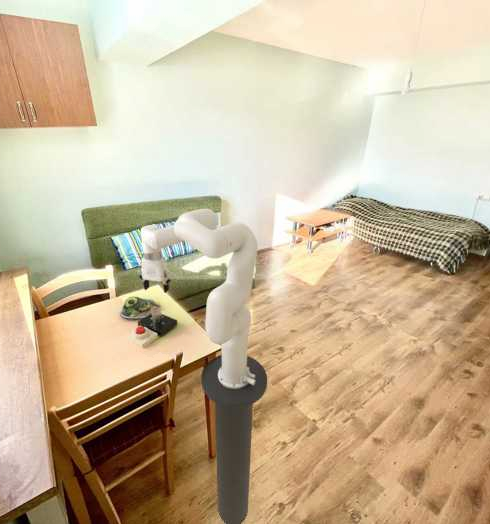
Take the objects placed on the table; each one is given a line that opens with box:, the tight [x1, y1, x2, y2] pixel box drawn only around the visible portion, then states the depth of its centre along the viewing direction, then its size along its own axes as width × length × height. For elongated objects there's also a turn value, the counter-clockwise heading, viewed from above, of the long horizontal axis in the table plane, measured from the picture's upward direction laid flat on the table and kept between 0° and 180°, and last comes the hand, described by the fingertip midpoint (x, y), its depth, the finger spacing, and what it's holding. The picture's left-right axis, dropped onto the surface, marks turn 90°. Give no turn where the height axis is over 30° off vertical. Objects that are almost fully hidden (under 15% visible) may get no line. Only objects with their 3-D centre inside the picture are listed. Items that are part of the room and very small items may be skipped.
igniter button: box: [135, 326, 145, 334], centre depth 121 cm, size 4×4×2 cm
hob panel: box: [137, 313, 178, 338], centre depth 132 cm, size 15×11×3 cm
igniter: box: [124, 326, 159, 349], centre depth 122 cm, size 11×9×4 cm
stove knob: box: [151, 308, 162, 324], centre depth 130 cm, size 4×4×5 cm
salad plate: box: [119, 296, 161, 320], centre depth 143 cm, size 19×18×5 cm
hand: (156, 290), depth 125 cm, fingers open, 9 cm apart
